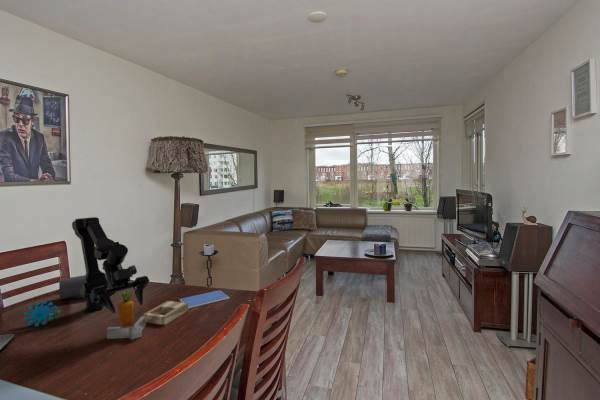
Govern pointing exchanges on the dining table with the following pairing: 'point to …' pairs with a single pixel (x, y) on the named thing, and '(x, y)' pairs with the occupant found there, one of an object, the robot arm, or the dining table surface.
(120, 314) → the carrot
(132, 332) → the v-block
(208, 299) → the tablet computer
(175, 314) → the socket block
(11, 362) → the dining table surface
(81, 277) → the bluetooth speaker
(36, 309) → the gear
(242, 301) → the dining table surface
